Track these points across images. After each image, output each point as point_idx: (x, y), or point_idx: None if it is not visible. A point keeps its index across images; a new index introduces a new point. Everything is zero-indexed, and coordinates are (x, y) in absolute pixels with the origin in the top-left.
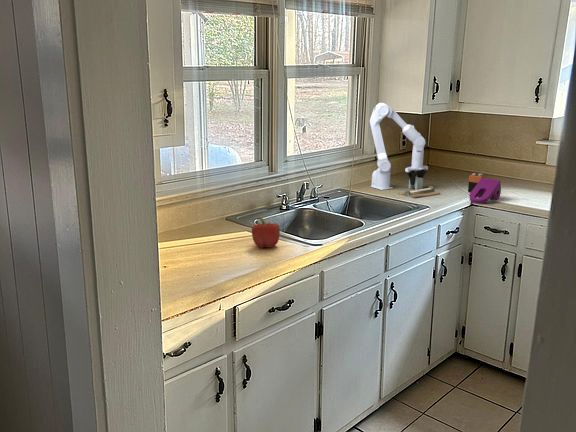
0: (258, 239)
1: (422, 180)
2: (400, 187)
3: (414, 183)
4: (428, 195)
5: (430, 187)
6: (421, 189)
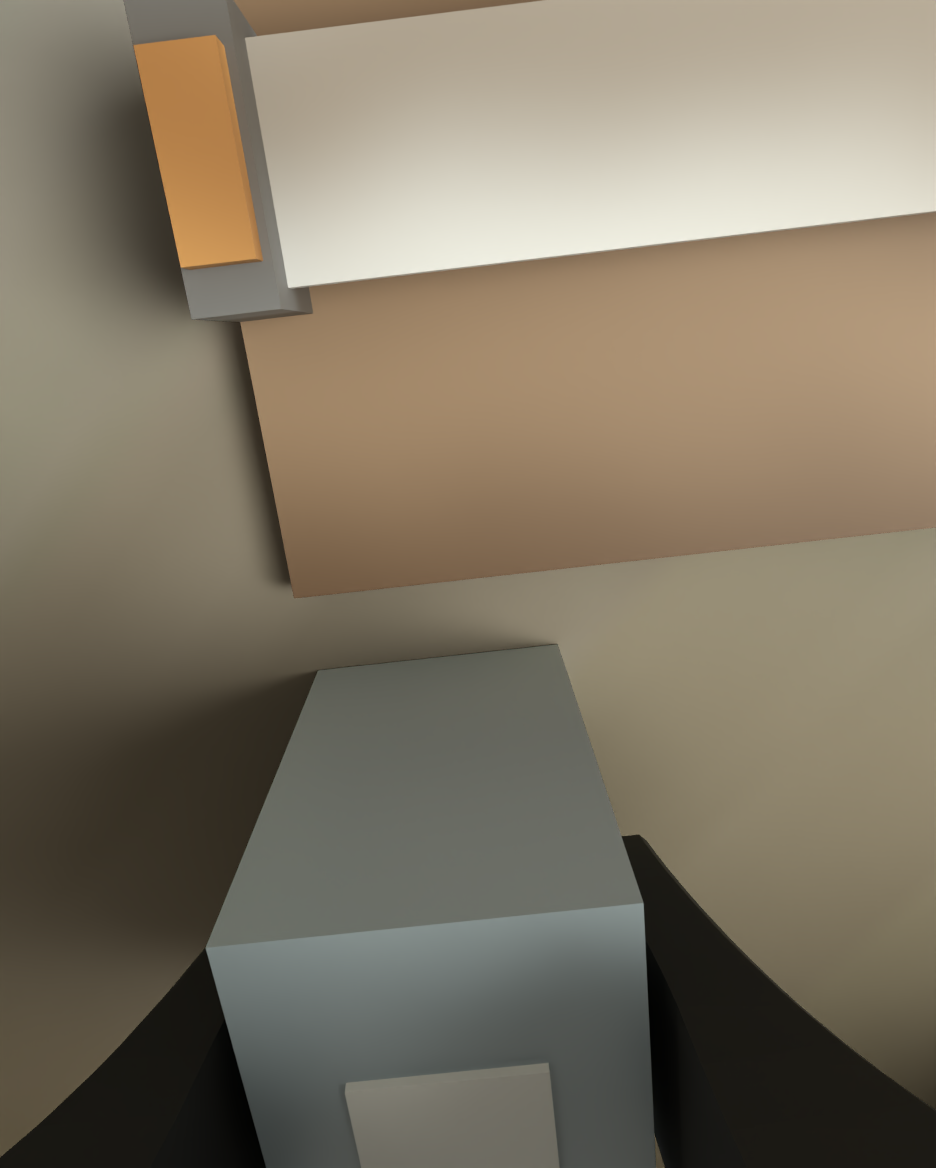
0: None
1: (266, 863)
2: None
3: None
4: None
5: (263, 207)
6: (799, 190)
